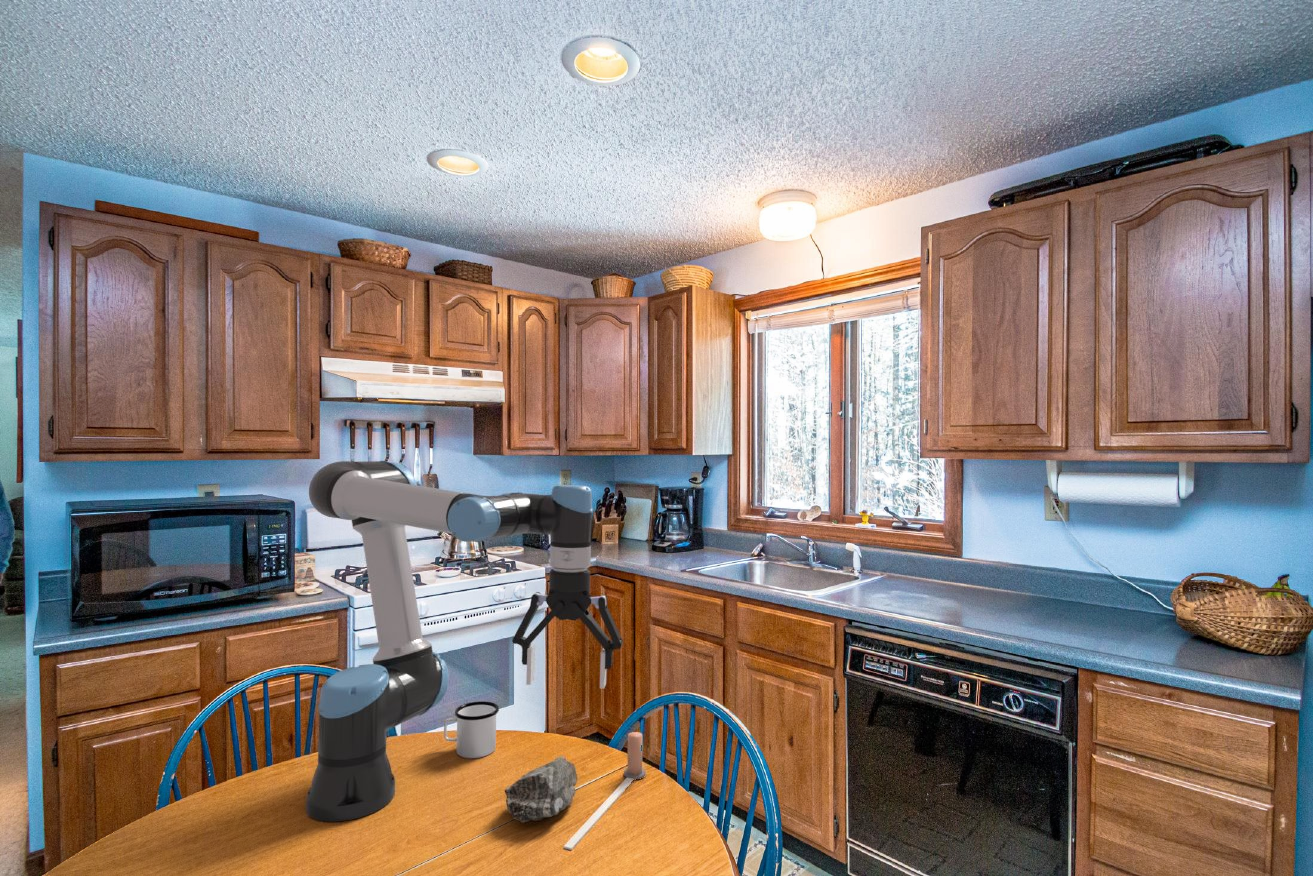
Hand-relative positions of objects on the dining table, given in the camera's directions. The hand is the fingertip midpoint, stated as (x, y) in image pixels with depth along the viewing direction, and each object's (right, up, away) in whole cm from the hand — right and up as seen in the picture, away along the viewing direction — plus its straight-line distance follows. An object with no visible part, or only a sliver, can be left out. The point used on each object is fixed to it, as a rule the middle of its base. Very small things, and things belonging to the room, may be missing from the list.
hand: (566, 684), depth 119 cm
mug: (-24, -24, +23) cm, 41 cm away
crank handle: (+8, -23, +1) cm, 24 cm away
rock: (-5, -23, 0) cm, 23 cm away
